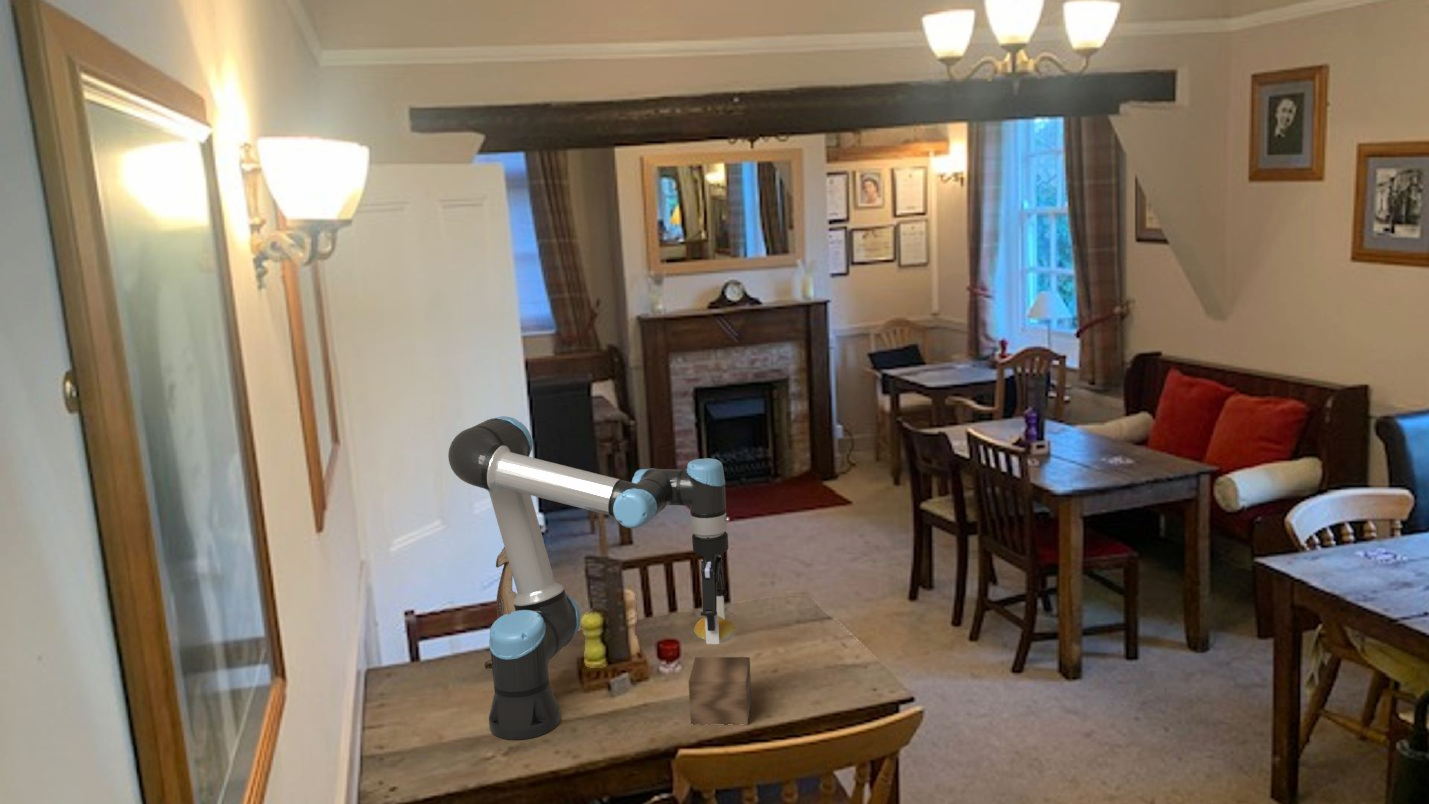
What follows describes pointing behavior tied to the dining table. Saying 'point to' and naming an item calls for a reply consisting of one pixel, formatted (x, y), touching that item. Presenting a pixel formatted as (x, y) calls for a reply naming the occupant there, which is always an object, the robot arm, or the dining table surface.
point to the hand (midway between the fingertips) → (716, 633)
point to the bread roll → (725, 629)
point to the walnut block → (720, 690)
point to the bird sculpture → (504, 590)
